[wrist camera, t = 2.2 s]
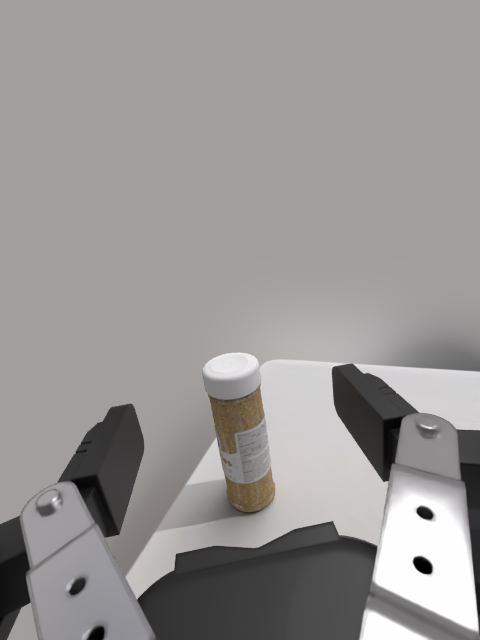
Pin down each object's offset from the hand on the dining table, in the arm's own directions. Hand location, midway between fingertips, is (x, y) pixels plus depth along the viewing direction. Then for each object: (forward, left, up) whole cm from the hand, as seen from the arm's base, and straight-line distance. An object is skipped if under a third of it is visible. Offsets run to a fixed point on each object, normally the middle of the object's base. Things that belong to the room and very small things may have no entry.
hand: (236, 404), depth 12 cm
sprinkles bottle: (+6, +10, -17) cm, 20 cm away
